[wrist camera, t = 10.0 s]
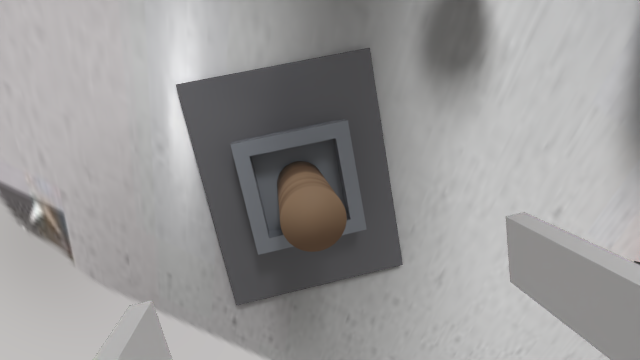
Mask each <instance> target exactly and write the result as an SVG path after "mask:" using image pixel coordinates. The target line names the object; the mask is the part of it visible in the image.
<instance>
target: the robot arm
mask: <svg viewBox="0 0 640 360" xmlns="http://www.w3.org/2000/svg"><path fill="white" fill-rule="evenodd" d="M506 228H507V243H508V257H509V271H510V282H511V283H513V284H514V285H515V286H516V287H518V288H519V289H520V290H522V291H523V292H524V293H526V294H527V295H528V296H529V297H531V298H532V299H533V300H535V301H536V302H537V303H538V304H540V305H541V306H542V307H544V308H545V309H546V310H547V311H549V312H550V313H551V314H553V315H554V316H555V317H556V318H558V319H559V320H560V321H562V322H563V323H564V324H565V325H567V326H568V327H569V328H571V329H572V330H573V331H574V332H576V333H577V334H578V335H580V336H581V337H582V338H583V339H585V340H586V341H587V342H589V343H590V344H591V345H592V346H594V347H595V348H596V349H598V350H599V351H600V352H602V353H603V354H604V355H605V356H607V357H608V358H609V359H611V360H640V262H636V261H634V262H632V261H630V260H628V259H626V258H624V257H621V256H619V255H617V254H615V253H613V252H611V251H608V250H606V249H604V248H602V247H600V246H597V245H595V244H593V243H591V242H589V241H587V240H584V239H582V238H580V237H578V236H576V235H573V234H571V233H569V232H567V231H565V230H563V229H560V228H558V227H556V226H554V225H552V224H549V223H547V222H545V221H543V220H541V219H539V218H536V217H534V216H532V215H530V214H528V213H525V212H523V213H519V214H515V215H510V216H506ZM93 360H172V357H171V355H170V351H169V349H168V346H167V343H166V340H165V337H164V334H163V331H162V328H161V325H160V322H159V319H158V316H157V313H156V311H155V308H154V305H153V302H152V300H151V301H147V302H143V303H138V304H134V305H130V306H129V307H128V309H127V310H126V312H125V313H124V315H123V316H122V318H121V319H120V321H119V322H118V324H117V325H116V326H115V328H114V329H113V331H112V332H111V334H110V335H109V337H108V338H107V340H106V341H105V343H104V344H103V346H102V347H101V349H100V350H99V352H98V353H97V355H96V356H95V358H94V359H93Z"/></svg>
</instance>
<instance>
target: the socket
mask: <svg viewBox="0 0 640 360" xmlns="http://www.w3.org/2000/svg"><path fill="white" fill-rule="evenodd" d="M176 87H177V91H178V94H179V98H180V102H181V105H182V109H183V113H184V116H185V120H186V123H187V127H188V131H189V134H190V138H191V142H192V145H193V149H194V152H195V156H196V160H197V163H198V167H199V171H200V174H201V178H202V182H203V185H204V189H205V192H206V196H207V200H208V203H209V207H210V211H211V214H212V218H213V222H214V225H215V229H216V232H217V236H218V240H219V243H220V247H221V251H222V254H223V258H224V261H225V265H226V269H227V272H228V276H229V280H230V283H231V287H232V291H233V294H234V298H235V301H236V305H240V304H244V303H248V302H252V301H257V300H261V299H265V298H269V297H273V296H277V295H281V294H285V293H289V292H293V291H297V290H302V289H306V288H310V287H314V286H318V285H322V284H326V283H330V282H334V281H338V280H342V279H346V278H351V277H355V276H359V275H363V274H367V273H371V272H375V271H379V270H383V269H387V268H391V267H396V266H400V265H403V264H402V257H401V251H400V244H399V238H398V231H397V224H396V218H395V211H394V205H393V198H392V192H391V185H390V179H389V172H388V165H387V159H386V152H385V146H384V139H383V133H382V126H381V120H380V113H379V106H378V100H377V93H376V87H375V80H374V74H373V67H372V61H371V54H370V48H366V49H361V50H356V51H350V52H345V53H340V54H335V55H329V56H324V57H319V58H313V59H308V60H303V61H298V62H292V63H287V64H282V65H277V66H271V67H266V68H261V69H256V70H250V71H245V72H240V73H234V74H229V75H224V76H219V77H213V78H208V79H203V80H198V81H192V82H187V83H182V84H177V85H176ZM297 161H305V162H308V163H311V164H313V165H314V166H315V167H317V168H318V170H319V171H320V172H321V174H322V175H323V176H324V178H325V179H326V181H327V182H328V183H329V185H330V186H331V188H332V189H333V190H334V192H335V193H336V195H337V196H338V197H339V199H340V200H341V202H342V203H343V205H344V207H345V210H346V216H347V222H346V227H345V230H344V232H343V234H342V236H341V237H340V239H339V240H338V241H337V242H336V243H335V244H333V245H332V246H331V247H329V248H327V249H325V250H321V251H316V252H308V251H303V250H300V249H298V248H296V247H294V246H293V245H291V244H290V243H289V242H288V241H287V239H286V238H285V236H284V235H283V233H282V229H281V225H280V213H279V202H278V190H277V180H278V177H279V174H280V172H281V171H282V170H283V169H284V167H286V166H287V165H289V164H290V163H293V162H297Z"/></svg>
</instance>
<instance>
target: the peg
mask: <svg viewBox="0 0 640 360" xmlns="http://www.w3.org/2000/svg"><path fill="white" fill-rule="evenodd" d="M277 190H278V202H279V213H280V225H281V229H282V233H283V235H284V236H285V238H286V239H287V241H288V242H289V243H290V244H291V245H293V246H294V247H296V248H298V249H300V250H303V251H308V252H316V251H321V250H325V249H327V248H329V247H331V246H332V245H333V244H335V243H336V242H337V241H338V240H339V239H340V237H341V236H342V234H343V232H344V230H345V227H346V222H347V216H346V210H345V207H344V205H343V203H342V202H341V200H340V199H339V197H338V196H337V195H336V193H335V192H334V190H333V189H332V188H331V186H330V185H329V183H328V182H327V181H326V179H325V178H324V176H323V175H322V174H321V172H320V171H319V170H318V168H317V167H315V166H314V165H313V164H311V163H308V162H305V161H297V162H293V163H290V164H289V165H287V166H286V167H284V169H283V170H282V171H281V172H280V174H279V177H278V180H277Z"/></svg>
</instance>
